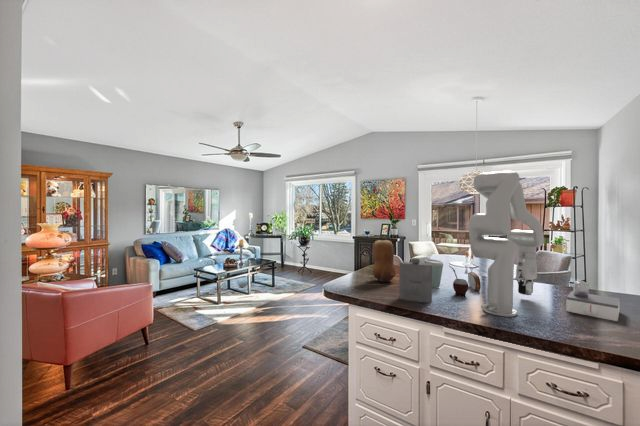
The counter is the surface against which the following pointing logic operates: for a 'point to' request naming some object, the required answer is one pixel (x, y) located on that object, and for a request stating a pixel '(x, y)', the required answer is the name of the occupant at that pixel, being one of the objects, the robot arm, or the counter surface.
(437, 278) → the disposable coffee cup
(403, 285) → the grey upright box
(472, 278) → the bread slice
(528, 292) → the spacer
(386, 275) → the butternut squash
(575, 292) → the spacer
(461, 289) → the mate gourd
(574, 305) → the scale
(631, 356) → the counter surface
